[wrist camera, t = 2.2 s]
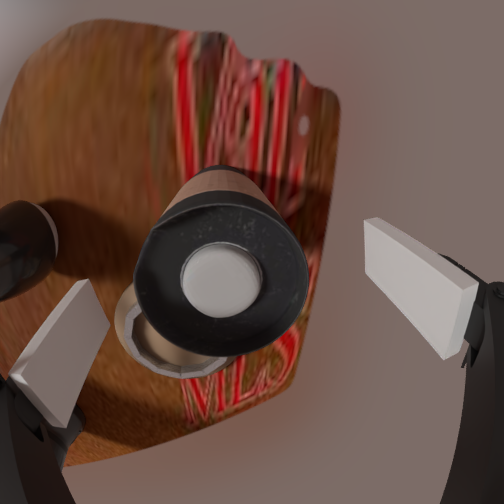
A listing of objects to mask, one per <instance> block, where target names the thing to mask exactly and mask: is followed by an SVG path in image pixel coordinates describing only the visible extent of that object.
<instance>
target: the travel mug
mask: <svg viewBox="0 0 504 504" xmlns="http://www.w3.org/2000/svg"><path fill="white" fill-rule="evenodd" d="M133 285H134V290H135V295H136V298H137V301H138V304H139V306H140V308H141V310H142V313H143V314H144V316H145V318H146V319H147V321H148V322H149V323H150V325H151V326H152V327H153V328H154V329H155V330H156V331H157V332H158V333H159V334H160V335H161V336H162V337H163V338H165V339H166V340H167V341H169V342H170V343H172V344H174V345H175V346H177V347H179V348H181V349H183V350H186V351H188V352H191V353H194V354H198V355H203V356H209V357H234V356H240V355H245V354H248V353H251V352H254V351H257V350H259V349H262V348H264V347H266V346H268V345H269V344H271V343H273V342H274V341H276V340H277V339H278V338H280V337H281V336H282V335H283V334H284V333H285V332H286V331H287V330H288V329H289V328H290V327H291V326H292V325H293V323H294V322H295V321H296V319H297V318H298V316H299V315H300V313H301V310H302V308H303V306H304V304H305V300H306V297H307V293H308V287H309V271H308V264H307V260H306V257H305V254H304V251H303V249H302V247H301V245H300V243H299V241H298V239H297V238H296V236H295V235H294V233H293V232H292V230H291V229H290V228H289V226H288V225H287V224H286V222H285V221H284V220H283V218H282V217H281V216H280V215H279V213H278V212H277V211H276V209H275V208H274V207H273V205H272V204H271V203H270V202H269V200H268V199H267V198H266V196H265V195H264V194H263V193H262V191H261V190H260V189H259V188H258V186H257V185H256V184H255V183H254V182H253V181H251V180H250V179H249V178H248V177H247V176H245V175H244V174H243V173H242V172H240V171H239V170H237V169H235V168H233V167H230V166H225V165H215V166H210V167H207V168H205V169H203V170H201V171H200V172H199V173H197V174H196V175H195V176H194V177H192V178H191V179H190V180H189V181H188V182H187V183H186V184H185V185H184V186H183V187H182V188H181V189H180V191H179V192H178V193H177V195H176V196H175V198H174V199H173V200H172V202H171V203H170V204H169V206H168V207H167V209H166V210H165V211H164V213H163V214H162V216H161V217H160V219H159V220H158V221H157V223H156V224H155V225H154V227H153V228H152V229H151V231H150V233H149V235H148V236H147V238H146V240H145V242H144V244H143V246H142V249H141V252H140V255H139V258H138V261H137V264H136V267H135V270H134V274H133Z"/></svg>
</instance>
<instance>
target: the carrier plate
mask: <svg viewBox="0 0 504 504" xmlns="http://www.w3.org/2000/svg"><path fill="white" fill-rule="evenodd" d="M115 329H116V332H117V336H118V338H119V340H120V342H121V344H122V345H123V347H124V349H125V350H126V351H127V352H128V354H129V355H130V356H131V357H132V358H133V359H135V360H136V361H137V362H138V363H140V364H141V365H143V366H144V367H146V368H148V369H149V370H151V371H153V372H156V373H158V374H161V375H165V376H168V377H174V378H182V379H191V378H200V377H205V376H208V375H211V374H214V373H216V372H218V371H220V370H222V369H224V368H225V367H226V366H228V365H229V364H230V363H231V362H232V361H233V360H234V359H235V358H236V357H237V356H234V357H209V356H203V355H198V354H194V353H191V352H188V351H186V350H183V349H181V348H179V347H177V346H175V345H174V344H172V343H170V342H169V341H167V340H166V339H165V338H163V337H162V336H161V335H160V334H159V333H158V332H157V331H156V330H155V329H154V328H153V327H152V326H151V325H150V323H149V322H148V321H147V319H146V318H145V316H144V314H143V313H142V310H141V308H140V306H139V304H138V301H137V298H136V295H135V290H134V285H133V282H132V283H131V284H129V286H128V287H127V288H126V289H125V291H124V293H123V294H122V296H121V298H120V300H119V302H118V304H117V307H116V311H115Z"/></svg>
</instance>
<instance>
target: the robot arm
mask: <svg viewBox="0 0 504 504" xmlns="http://www.w3.org/2000/svg"><path fill="white" fill-rule="evenodd" d="M364 238H365V273H366V274H367V275H368V276H369V277H370V278H371V280H372V281H373V282H374V283H375V284H376V285H377V286H378V287H379V288H380V289H381V290H382V291H383V292H384V293H385V294H386V295H387V296H388V298H389V299H390V300H391V301H392V302H393V303H394V304H395V305H396V306H397V307H398V308H399V310H400V311H401V312H402V313H403V314H404V315H405V316H406V317H407V318H408V320H409V321H410V322H411V323H412V324H413V325H414V326H415V327H416V329H417V330H418V331H419V332H420V333H421V334H422V335H423V337H424V338H425V339H426V340H427V341H428V342H429V344H430V345H431V346H432V347H433V348H434V350H435V351H436V352H437V353H438V354H439V356H440V357H441V358H442V359H443V360H445V359H447V358H449V357H451V356H453V355H454V354H456V353H458V352H459V351H460V348H461V345H462V342H463V340H464V339H465V340H466V341H467V342H468V343H469V347H468V350H467V353H466V355H465V358H464V360H463V363H462V366H461V368H464V366H465V364H466V363H467V366H466V367H467V368H466V383H465V394H464V402H463V410H462V417H461V423H460V429H459V434H458V440H457V445H456V450H455V454H454V458H453V462H452V466H451V470H450V473H449V477H448V480H447V484H446V487H445V490H444V493H443V496H442V499H441V502H440V504H504V283H503V282H492V283H489V284H487V283H486V282H484V281H483V280H481V279H480V278H479V277H477V276H476V275H475V274H473V273H472V272H470V271H469V270H467V269H465V267H463V266H462V265H460V264H459V265H458V263H457V262H456V261H454V260H453V259H451V258H450V257H447V256H444V255H441V254H437V253H436V252H434V251H433V250H431V249H430V248H428V247H426V246H425V245H423V244H422V243H420V242H419V241H417V240H415V239H414V238H412V237H411V236H409V235H407V234H406V233H404V232H402V231H401V230H399V229H397V228H396V227H394V226H392V225H391V224H389V223H387V222H386V221H384V220H382V219H381V218H379V217H375V218H370V219H365V220H364ZM109 327H110V323H109V321H108V319H107V317H106V315H105V313H104V311H103V309H102V307H101V305H100V303H99V301H98V299H97V296H96V294H95V292H94V290H93V287H92V285H91V283H90V281H89V279H85V280H81V281H77V282H76V283H75V284H74V285H73V287H72V288H71V289H70V290H69V291H68V293H67V294H66V295H65V296H64V298H63V299H62V300H61V301H60V302H59V304H58V305H57V306H56V307H55V309H54V310H53V311H52V313H51V314H50V315H49V316H48V318H47V319H46V320H45V322H44V323H43V324H42V326H41V327H40V328H39V330H38V331H37V332H36V334H35V335H34V337H33V338H32V339H31V341H30V342H29V344H28V345H27V346H26V348H25V349H24V351H23V352H22V354H21V355H20V357H19V358H18V360H17V361H16V363H15V364H14V366H13V367H12V369H11V370H10V372H9V373H8V374H9V377H8V378H7V380H6V381H5V379H4V378H3V377H2V375H1V374H0V504H76V503H75V501H74V499H73V497H72V495H71V493H70V491H69V489H68V486H67V484H66V482H65V480H64V477H63V475H62V473H61V472H62V469H63V465H64V461H65V458H66V454H67V451H68V448H69V446H70V445H71V444H72V443H73V442H74V440H75V439H76V438H77V436H78V435H79V434H80V433H81V432H82V431H83V428H84V425H85V422H86V420H85V416H84V414H83V412H82V411H81V410H80V408H79V407H78V406H77V405H76V404H75V403H76V401H77V398H78V396H79V393H80V391H81V389H82V386H83V384H84V381H85V379H86V377H87V375H88V372H89V370H90V368H91V365H92V363H93V361H94V359H95V357H96V354H97V352H98V350H99V348H100V346H101V344H102V342H103V339H104V337H105V335H106V333H107V331H108V329H109Z"/></svg>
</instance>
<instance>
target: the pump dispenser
mask: <svg viewBox="0 0 504 504" xmlns="http://www.w3.org/2000/svg"><path fill="white" fill-rule="evenodd" d="M57 252H58V233H57V229H56V226H55V224H54V222H53V220H52V218H51V216H50V215H49V214H48V213H47V212H46V211H45V210H44V209H43V208H42V207H40V206H39V205H37V204H34V203H30V202H27V201H23V200H18V201H14V202H11V203H9V204H7V205H5V206H3V207H2V208H1V209H0V302H3V301H6V300H9V299H12V298H14V297H17V296H19V295H21V294H23V293H25V292H27V291H28V290H30V289H32V288H33V287H35V286H36V285H38V284H39V283H41V282H42V281H43V280H44V279H45V278H46V277H47V276H48V275H49V274H50V273H51V271H52V269H53V267H54V263H55V259H56V256H57Z"/></svg>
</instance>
